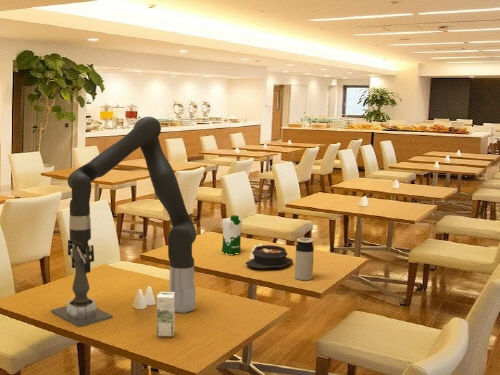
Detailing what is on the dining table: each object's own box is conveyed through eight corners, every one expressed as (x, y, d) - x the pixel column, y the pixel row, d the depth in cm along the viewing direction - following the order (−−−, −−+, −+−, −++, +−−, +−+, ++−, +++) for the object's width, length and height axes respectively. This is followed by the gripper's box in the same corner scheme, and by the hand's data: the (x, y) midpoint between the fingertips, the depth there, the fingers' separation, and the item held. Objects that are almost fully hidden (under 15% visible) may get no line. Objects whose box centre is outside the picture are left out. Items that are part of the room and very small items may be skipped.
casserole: (262, 274, 292) (263, 257, 291) (237, 265, 306) (237, 248, 305) (301, 266, 308) (302, 249, 307) (275, 257, 322) (276, 241, 321)
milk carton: (229, 256, 321) (230, 217, 318) (219, 252, 328) (219, 214, 325) (243, 254, 327) (244, 215, 323) (232, 250, 333) (233, 213, 330)
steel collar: (112, 317, 233) (112, 305, 233) (78, 327, 224) (78, 314, 223) (84, 303, 247) (83, 291, 246) (50, 311, 237) (50, 299, 237)
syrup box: (174, 330, 223) (175, 291, 220) (173, 337, 217) (173, 296, 214) (158, 330, 222) (158, 290, 220) (156, 337, 217) (156, 296, 214)
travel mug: (292, 279, 286) (294, 240, 283) (297, 274, 293) (298, 236, 291) (310, 281, 283) (311, 242, 281) (314, 276, 291) (315, 238, 288)
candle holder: (72, 315, 232) (71, 249, 228) (72, 309, 238) (71, 244, 234) (89, 314, 234) (89, 248, 230) (89, 308, 240) (89, 244, 236)
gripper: (99, 228, 228) (100, 272, 230) (79, 222, 238) (79, 264, 240) (81, 231, 222) (82, 276, 225) (60, 225, 232) (61, 267, 235)
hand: (81, 270), depth 233 cm, fingers open, 8 cm apart
